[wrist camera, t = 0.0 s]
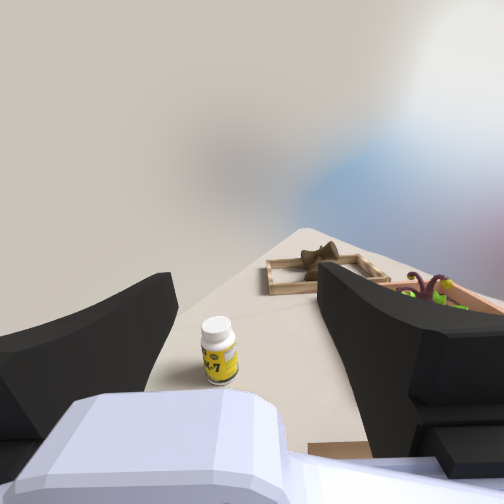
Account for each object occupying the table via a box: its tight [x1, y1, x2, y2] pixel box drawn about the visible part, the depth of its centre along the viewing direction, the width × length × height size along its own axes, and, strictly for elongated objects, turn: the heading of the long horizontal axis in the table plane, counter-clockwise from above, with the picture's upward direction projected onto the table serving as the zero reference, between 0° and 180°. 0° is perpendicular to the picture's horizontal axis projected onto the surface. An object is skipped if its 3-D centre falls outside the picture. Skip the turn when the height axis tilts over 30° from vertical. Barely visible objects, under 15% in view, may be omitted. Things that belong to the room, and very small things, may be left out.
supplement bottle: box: [201, 316, 239, 385], centre depth 33 cm, size 5×5×8 cm
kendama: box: [301, 241, 339, 282], centre depth 64 cm, size 6×10×20 cm
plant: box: [393, 272, 468, 310], centre depth 38 cm, size 20×20×11 cm
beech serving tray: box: [266, 254, 391, 295], centre depth 64 cm, size 18×28×2 cm, turn 89°
